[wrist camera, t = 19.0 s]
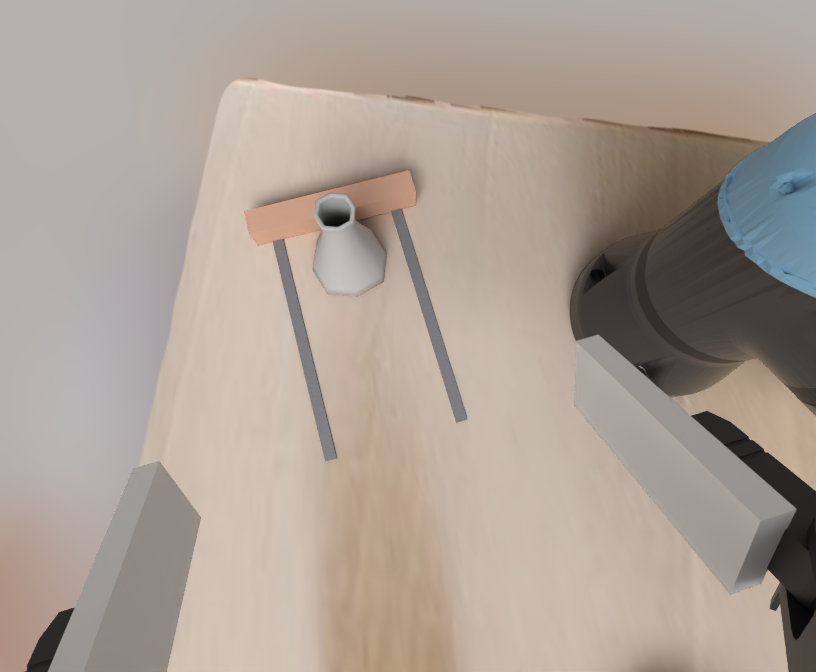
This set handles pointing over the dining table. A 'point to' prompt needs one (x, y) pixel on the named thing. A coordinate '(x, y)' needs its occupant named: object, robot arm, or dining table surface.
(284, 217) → the stop bar lane
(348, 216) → the flask
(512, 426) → the dining table surface
